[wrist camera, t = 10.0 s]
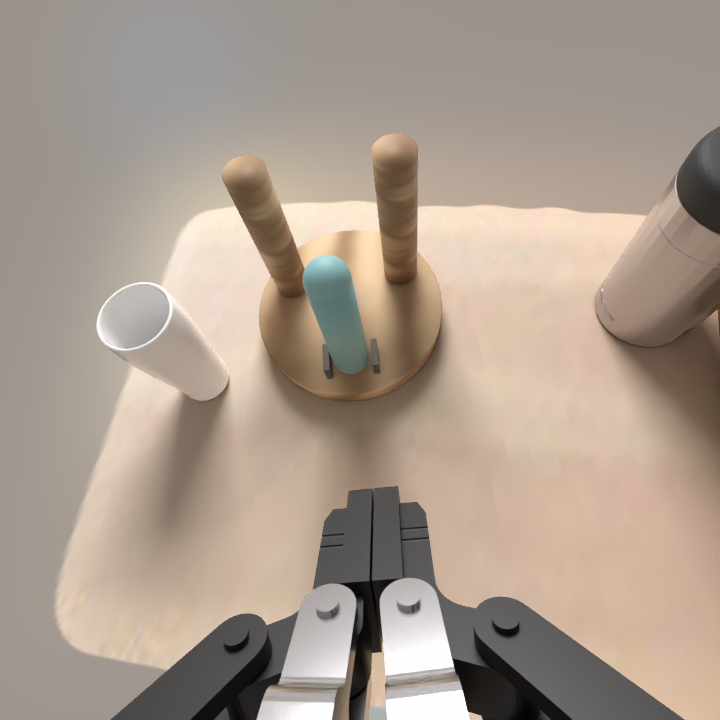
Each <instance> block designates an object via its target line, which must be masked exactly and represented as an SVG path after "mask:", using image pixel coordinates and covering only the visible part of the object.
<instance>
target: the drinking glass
mask: <svg viewBox="0 0 720 720" xmlns="http://www.w3.org/2000/svg"><path fill="white" fill-rule="evenodd" d="M96 326H97V334H98V336H99V339H100V340H101V342H102V343H103V344H104V345H105V346H106V347H107V348H109V349H110V350H111V351H112V352H114V353H115V354H116V355H117V356H119V357H120V358H122V359H123V360H124V361H126V362H127V363H129V364H130V365H132V366H133V367H135V368H137V369H139V370H140V371H142V372H144V373H146V374H148V375H150V376H152V377H154V378H156V379H158V380H160V381H162V382H164V383H166V384H168V385H170V386H171V387H173V388H175V389H177V390H179V391H181V392H183V393H184V394H186V395H187V396H189V397H190V398H192V399H194V400H198V401H206V400H210V399H213V398H215V397H216V396H218V395H219V394H220V393H221V392H222V391H223V390H224V389H225V387H226V385H227V383H228V379H229V371H228V368H227V365H226V364H225V362H224V361H223V360H222V359H221V358H220V357H219V356H218V354H217V353H216V352H215V350H214V349H213V347H212V346H211V345H210V343H209V342H208V340H207V339H206V338H205V336H204V335H203V333H202V332H201V330H200V329H199V327H198V326H197V325H196V323H195V322H194V320H193V319H192V318H191V316H190V315H189V314H188V313H187V311H186V310H185V309H184V308H183V307H182V306H181V305H180V304H179V303H178V302H177V301H176V300H175V299H174V298H173V297H172V296H171V295H170V294H169V293H168V292H167V291H166V290H165V289H164V288H162V287H161V286H159V285H156V284H153V283H146V282H145V283H144V282H142V283H135V284H131V285H128V286H126V287H124V288H122V289H120V290H118V291H117V292H115V293H114V294H113V295H112V296H111V297H110V298H109V299H108V300H107V301H106V302H105V303H104V305H103V306H102V308H101V310H100V312H99V315H98V318H97V325H96Z"/></svg>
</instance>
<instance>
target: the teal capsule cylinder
mask: <svg viewBox="0 0 720 720" xmlns="http://www.w3.org/2000/svg"><path fill="white" fill-rule="evenodd" d="M303 286H304V289H305V292H306V294H307V297H308V299H309V302H310V304H311V307H312V309H313V312H314V315H315V317H316V320H317V322H318V325H319V327H320V330H321V332H322V335H323V337H324V340H325V342H326V345H327V348H328V350H329V353H330V355H331V358H332V360H333V363H334V365H335V366H336V367H337V368H338V369H339V370H340V371H342V372H344V373H348V374H353V373H357V372H359V371H361V370H362V369H363V368H364V367H365V366H366V364H367V362H368V349H367V344H366V339H365V335H364V330H363V326H362V321H361V317H360V312H359V308H358V303H357V298H356V294H355V289H354V285H353V280H352V276H351V272H350V270H349V268H348V266H347V265H346V263H345V262H344V261H343V260H341V259H340V258H338V257H336V256H333V255H322V256H318V257H316V258H314V259H313V260H311V261H310V262H309V263H308V265H307V266H306V268H305V270H304V273H303Z"/></svg>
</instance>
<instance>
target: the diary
mask: <svg viewBox="0 0 720 720" xmlns="http://www.w3.org/2000/svg"><path fill="white" fill-rule="evenodd" d="M718 320H719V334H720V307H719V308H718Z"/></svg>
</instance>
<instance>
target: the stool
mask: <svg viewBox="0 0 720 720" xmlns="http://www.w3.org/2000/svg"><path fill="white" fill-rule="evenodd" d="M372 161H373V170H374V179H375V188H376V198H377V207H378V217H379V226H380V233H377V232H370V231H343V232H337V233H332V234H329V235H325V236H322V237H319V238H317V239H315V240H312V241H310V242H308V243H306V244H305V245H303V246H301V247H300V248H298V249H297V247H296V245H295V242H294V239H293V237H292V234H291V232H290V229H289V226H288V224H287V221H286V218H285V216H284V213H283V210H282V208H281V205H280V203H279V200H278V197H277V195H276V192H275V189H274V187H273V184H272V181H271V179H270V176H269V174H268V171H267V168H266V166H265V163H264V162H263V160H262V159H260V158H259V157H257V156H253V155H243V156H240V157H237V158H235V159H233V160H231V161H230V162H229V163H228V164H227V165H226V166H225V168H224V169H223V172H222V179H223V182H224V184H225V186H226V188H227V189H228V192H229V194H230V195H231V197H232V199H233V201H234V203H235V205H236V207H237V209H238V211H239V213H240V215H241V217H242V219H243V221H244V223H245V225H246V227H247V229H248V231H249V233H250V235H251V237H252V239H253V241H254V243H255V245H256V247H257V249H258V251H259V253H260V255H261V257H262V259H263V261H264V263H265V265H266V267H267V269H268V271H269V273H270V275H271V277H270V279H269V281H268V283H267V285H266V287H265V289H264V292H263V295H262V298H261V303H260V309H259V326H260V331H261V336H262V339H263V341H264V344H265V346H266V348H267V350H268V352H269V354H270V355H271V357H272V358H273V360H274V361H275V362H276V364H277V365H278V367H279V368H280V369H281V371H282V372H283V373H284V374H285V375H286V376H287V377H288V378H289V379H290V380H291V381H292V382H293V383H294V384H296V385H297V386H299V387H300V388H301V389H303V390H305V391H307V392H309V393H311V394H314V395H316V396H319V397H322V398H326V399H331V400H338V401H359V400H365V399H371V398H374V397H378V396H381V395H384V394H386V393H388V392H390V391H393V390H395V389H396V388H398V387H400V386H401V385H403V384H404V383H406V382H407V381H408V380H409V379H411V378H412V377H413V376H414V375H415V374H416V373H417V372H418V371H419V370H420V369H421V368H422V367H423V365H424V364H425V363H426V361H427V360H428V359H429V357H430V355H431V353H432V351H433V349H434V347H435V344H436V342H437V339H438V334H439V330H440V322H441V310H442V301H441V292H440V288H439V284H438V282H437V279H436V277H435V274H434V273H433V271H432V269H431V268H430V266H429V264H428V263H427V262H426V261H425V260H424V258H423V257H422V256H421V255H420V254H419V253H418V252H417V191H418V186H417V185H418V179H417V178H418V175H417V174H418V148H417V144H416V142H415V141H414V139H412V138H411V137H409V136H407V135H405V134H399V133H397V134H389V135H386V136H383V137H381V138H380V139H379V140H377V141H376V142H375V144H374V145H373V148H372ZM322 255H333V256H336V257H338V258H340V259H341V260H343V261H344V262H345V263H346V265H347V266H348V268H349V270H350V272H351V276H352V280H353V285H354V289H355V294H356V298H357V303H358V308H359V312H360V317H361V321H362V326H363V330H364V335H365V339H366V344H367V349H368V362H367V364H366V366H365V367H364V368H363V369H362V370H361V371H359V372H357V373H353V374H348V373H344V372H342V371H340V370H339V369H338V368H337V367H336V366H335V365H334V363H333V360H332V358H331V355H330V353H329V350H328V348H327V345H326V342H325V340H324V337H323V335H322V332H321V330H320V327H319V325H318V322H317V320H316V317H315V315H314V312H313V309H312V307H311V304H310V302H309V299H308V297H307V294H306V292H305V289H304V286H303V273H304V270H305V268H306V266H307V265H308V263H309V262H310V261H311V260H313V259H314V258H316V257H318V256H322Z"/></svg>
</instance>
